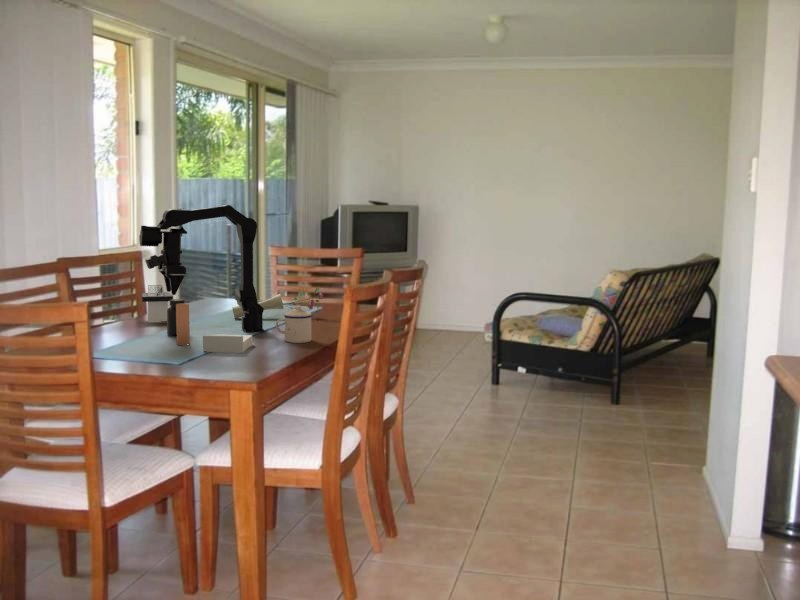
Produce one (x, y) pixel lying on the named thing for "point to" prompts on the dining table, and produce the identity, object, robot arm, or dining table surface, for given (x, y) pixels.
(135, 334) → the dining table surface
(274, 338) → the dining table surface
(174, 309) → the supplement bottle
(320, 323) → the dining table surface
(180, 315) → the peg
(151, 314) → the black-topped pedestal
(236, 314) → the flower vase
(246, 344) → the socket block
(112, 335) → the dining table surface
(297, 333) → the teacup with lid
